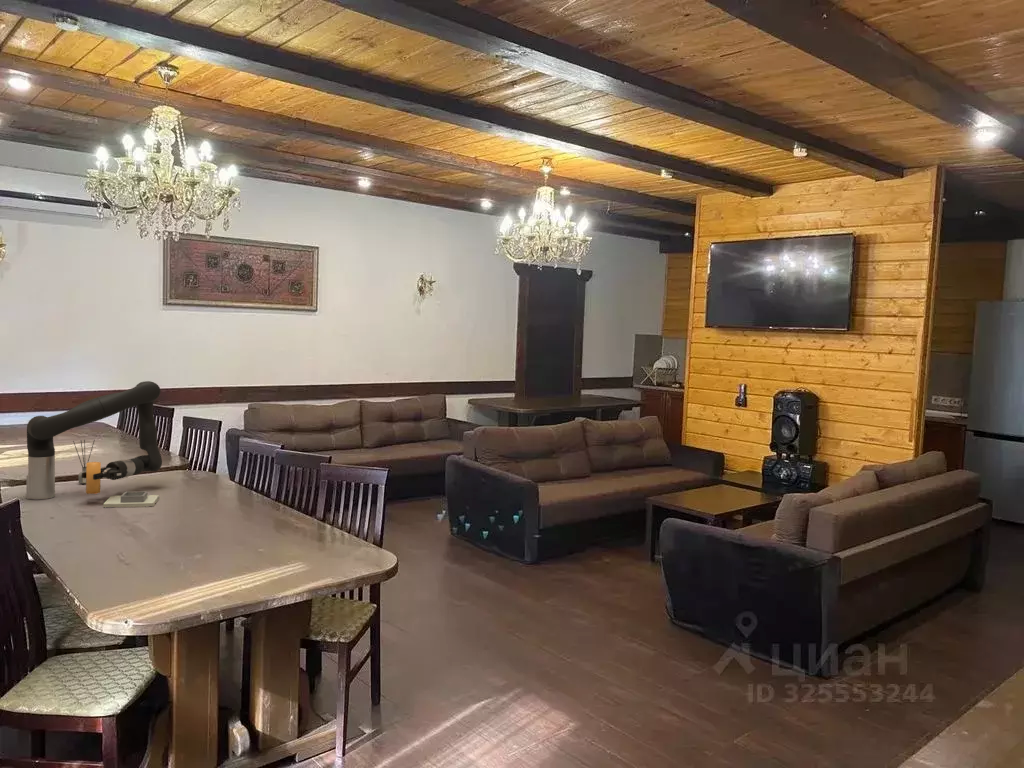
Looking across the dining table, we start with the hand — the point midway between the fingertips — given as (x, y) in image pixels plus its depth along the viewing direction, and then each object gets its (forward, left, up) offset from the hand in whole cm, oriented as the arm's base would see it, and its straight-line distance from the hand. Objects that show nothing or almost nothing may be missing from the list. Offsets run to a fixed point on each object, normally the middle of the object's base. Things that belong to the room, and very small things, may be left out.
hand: (88, 476), depth 298 cm
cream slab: (+16, +1, -11) cm, 19 cm away
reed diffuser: (-10, +40, -12) cm, 43 cm away
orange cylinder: (+1, +2, -7) cm, 7 cm away
